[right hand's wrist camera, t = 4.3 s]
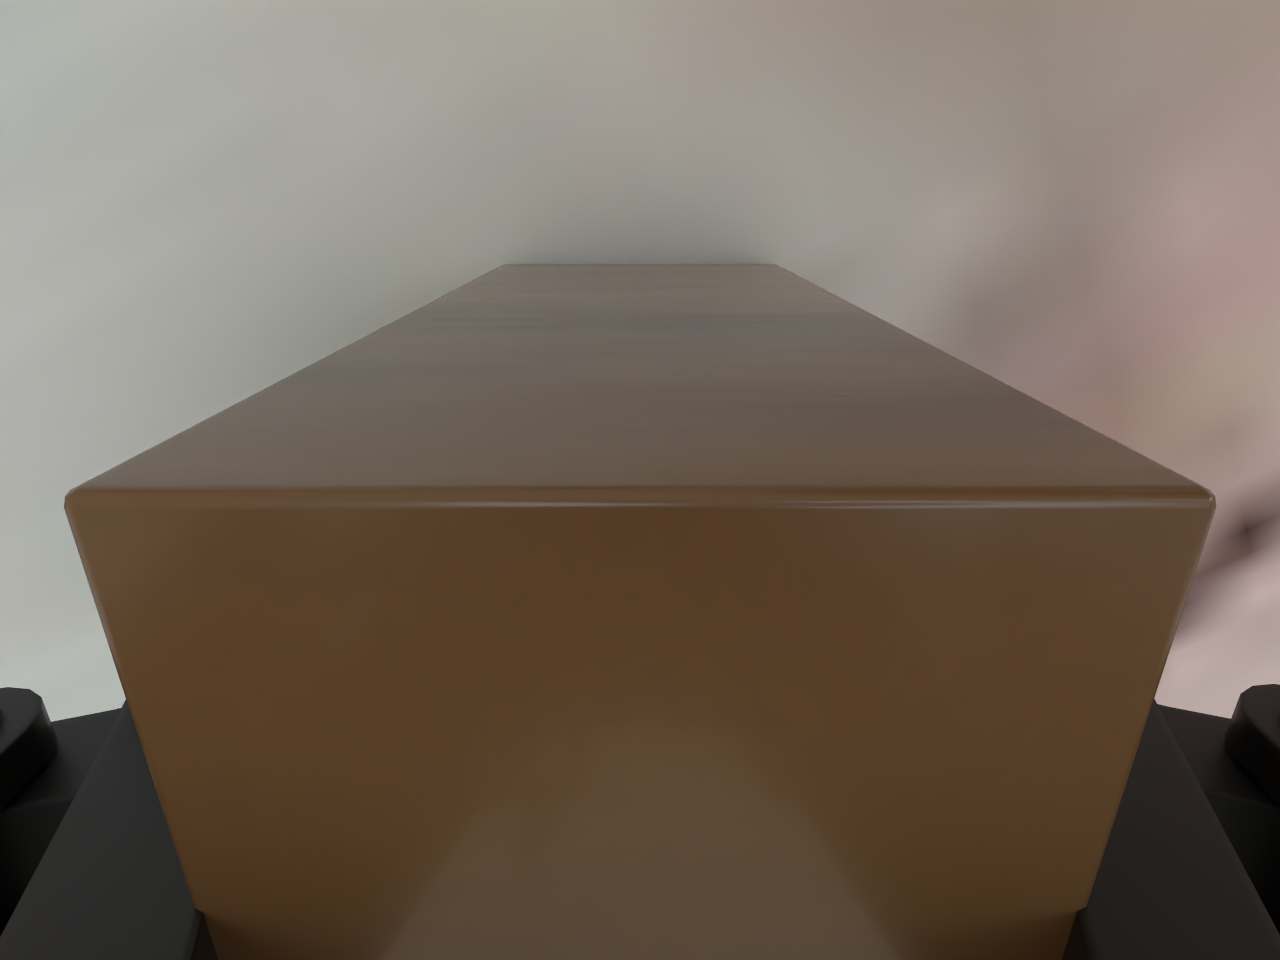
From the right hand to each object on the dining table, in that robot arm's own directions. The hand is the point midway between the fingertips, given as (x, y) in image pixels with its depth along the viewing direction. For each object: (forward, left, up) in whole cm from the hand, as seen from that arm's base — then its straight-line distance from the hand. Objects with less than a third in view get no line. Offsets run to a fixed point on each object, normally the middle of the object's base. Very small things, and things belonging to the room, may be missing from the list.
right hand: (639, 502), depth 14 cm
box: (+4, +7, -3) cm, 8 cm away
